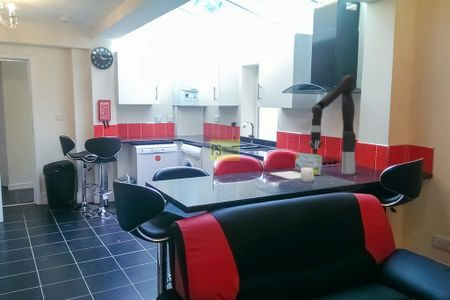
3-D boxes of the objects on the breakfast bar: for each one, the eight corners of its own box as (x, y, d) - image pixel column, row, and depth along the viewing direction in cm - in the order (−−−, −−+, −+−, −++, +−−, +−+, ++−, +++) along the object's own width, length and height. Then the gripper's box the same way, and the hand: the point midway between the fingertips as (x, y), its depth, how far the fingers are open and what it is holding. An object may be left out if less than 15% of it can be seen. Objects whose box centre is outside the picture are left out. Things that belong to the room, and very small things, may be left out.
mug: (307, 179, 263) (307, 166, 262) (317, 182, 253) (317, 169, 252) (298, 180, 259) (298, 167, 258) (308, 183, 250) (308, 170, 249)
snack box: (293, 171, 291) (295, 152, 291) (297, 171, 295) (300, 153, 295) (316, 175, 275) (319, 155, 275) (320, 175, 279) (323, 155, 279)
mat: (292, 171, 295) (292, 171, 295) (313, 177, 272) (313, 176, 272) (269, 173, 285) (269, 173, 285) (289, 179, 262) (289, 178, 262)
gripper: (312, 131, 279) (311, 154, 281) (325, 131, 284) (324, 153, 286) (306, 131, 285) (305, 153, 287) (319, 130, 291) (318, 152, 293)
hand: (315, 153), depth 287 cm, fingers closed
